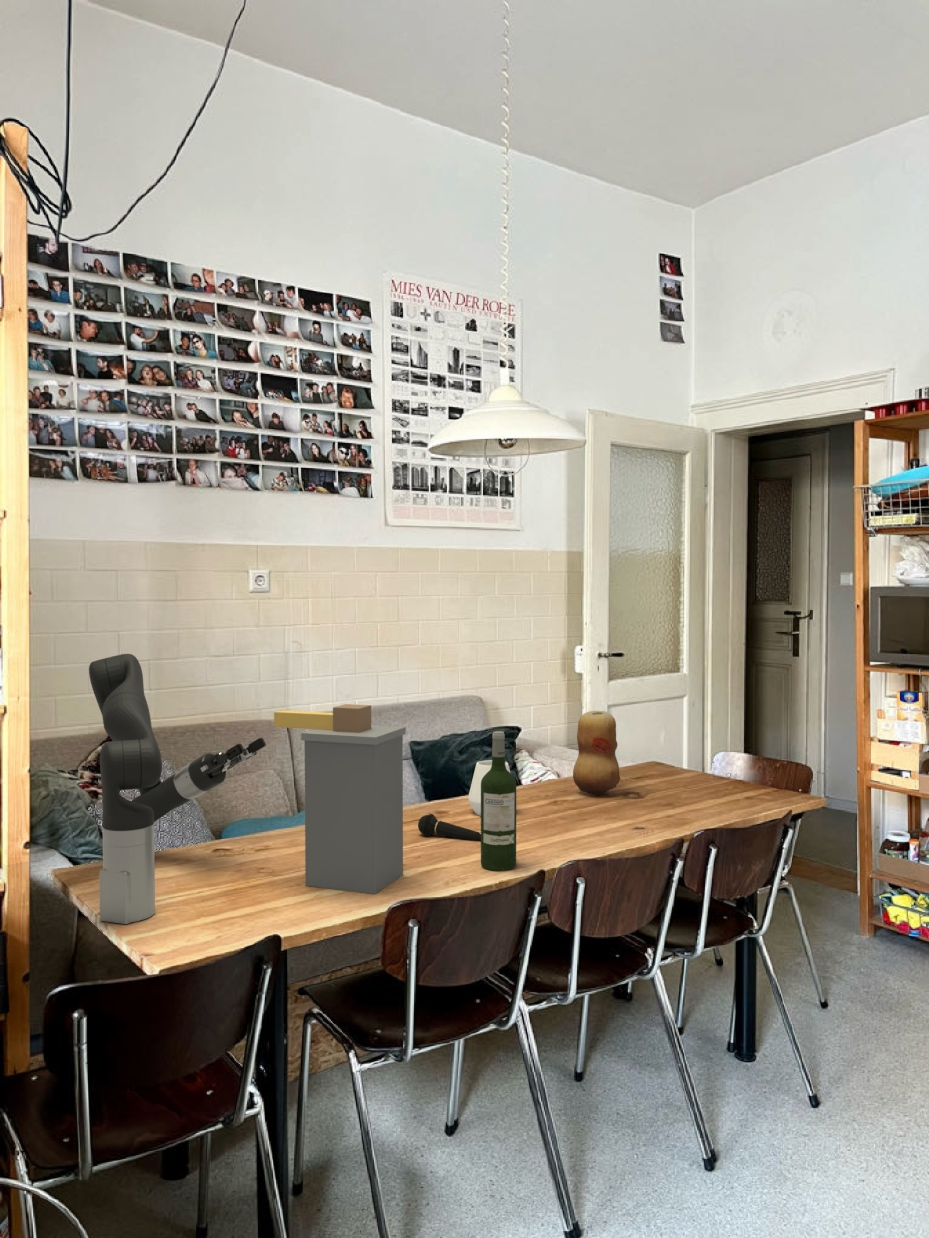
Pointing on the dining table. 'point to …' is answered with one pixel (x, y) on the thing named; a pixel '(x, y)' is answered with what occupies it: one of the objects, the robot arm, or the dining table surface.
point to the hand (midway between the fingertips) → (253, 744)
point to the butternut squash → (596, 753)
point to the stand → (354, 808)
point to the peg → (328, 719)
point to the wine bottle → (498, 812)
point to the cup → (479, 784)
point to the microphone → (445, 829)
